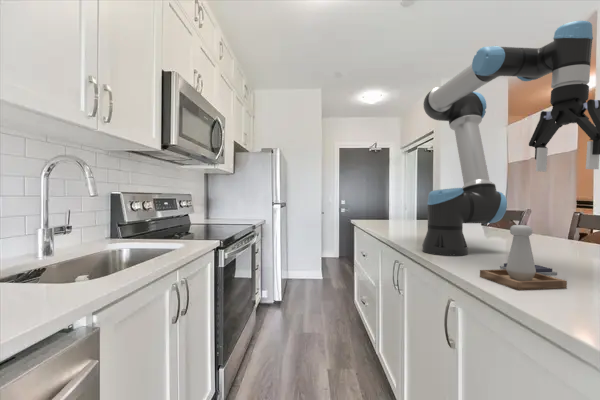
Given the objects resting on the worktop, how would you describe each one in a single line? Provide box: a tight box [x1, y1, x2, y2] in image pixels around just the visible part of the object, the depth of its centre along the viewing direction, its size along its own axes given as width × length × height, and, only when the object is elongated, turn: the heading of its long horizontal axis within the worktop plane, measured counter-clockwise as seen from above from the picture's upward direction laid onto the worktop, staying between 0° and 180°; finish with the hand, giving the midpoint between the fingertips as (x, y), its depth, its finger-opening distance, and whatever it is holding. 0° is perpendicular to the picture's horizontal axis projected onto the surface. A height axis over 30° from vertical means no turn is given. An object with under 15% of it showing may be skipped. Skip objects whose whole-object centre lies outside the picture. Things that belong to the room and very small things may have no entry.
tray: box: [479, 268, 568, 291], centre depth 77 cm, size 12×12×2 cm
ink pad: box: [499, 262, 558, 276], centre depth 88 cm, size 9×9×2 cm
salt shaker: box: [506, 224, 536, 281], centre depth 77 cm, size 6×6×13 cm
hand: (564, 170), depth 84 cm, fingers open, 13 cm apart
